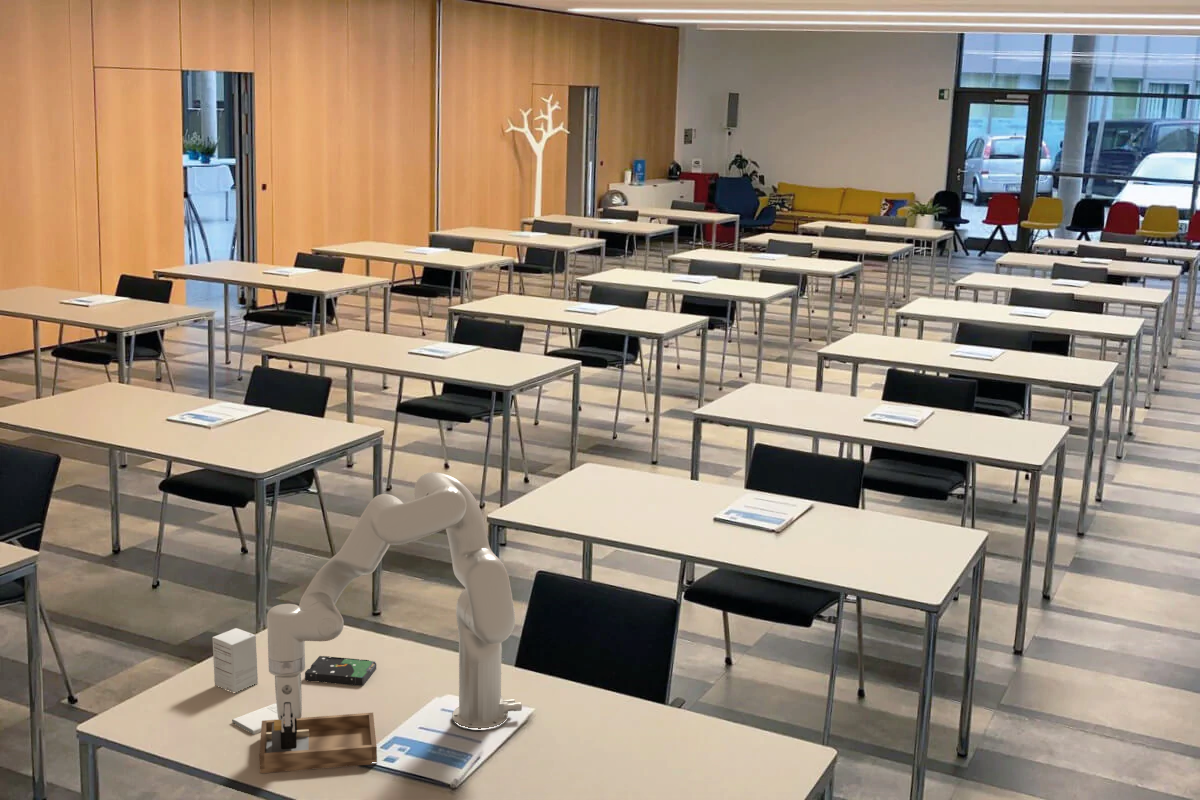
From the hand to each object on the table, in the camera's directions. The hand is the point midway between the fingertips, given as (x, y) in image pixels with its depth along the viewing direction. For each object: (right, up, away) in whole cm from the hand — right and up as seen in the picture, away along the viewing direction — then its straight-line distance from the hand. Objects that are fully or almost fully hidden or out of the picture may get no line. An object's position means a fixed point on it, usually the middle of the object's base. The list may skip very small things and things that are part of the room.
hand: (289, 740), depth 281 cm
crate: (+6, -3, +2) cm, 7 cm away
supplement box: (-20, +5, +32) cm, 38 cm away
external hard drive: (-9, 0, +16) cm, 18 cm away
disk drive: (+3, +5, +39) cm, 40 cm away
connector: (-2, -2, 0) cm, 2 cm away
